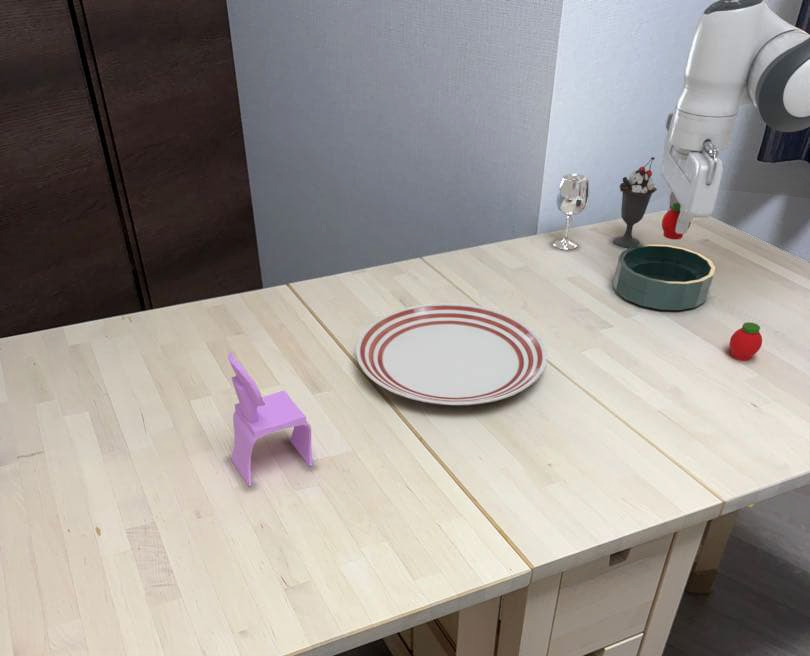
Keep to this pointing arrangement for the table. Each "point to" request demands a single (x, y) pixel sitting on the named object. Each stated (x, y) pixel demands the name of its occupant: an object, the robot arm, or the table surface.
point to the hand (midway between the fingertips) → (675, 225)
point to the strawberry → (671, 222)
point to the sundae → (634, 202)
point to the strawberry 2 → (746, 341)
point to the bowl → (663, 277)
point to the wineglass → (571, 202)
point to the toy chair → (263, 420)
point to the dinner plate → (451, 354)
